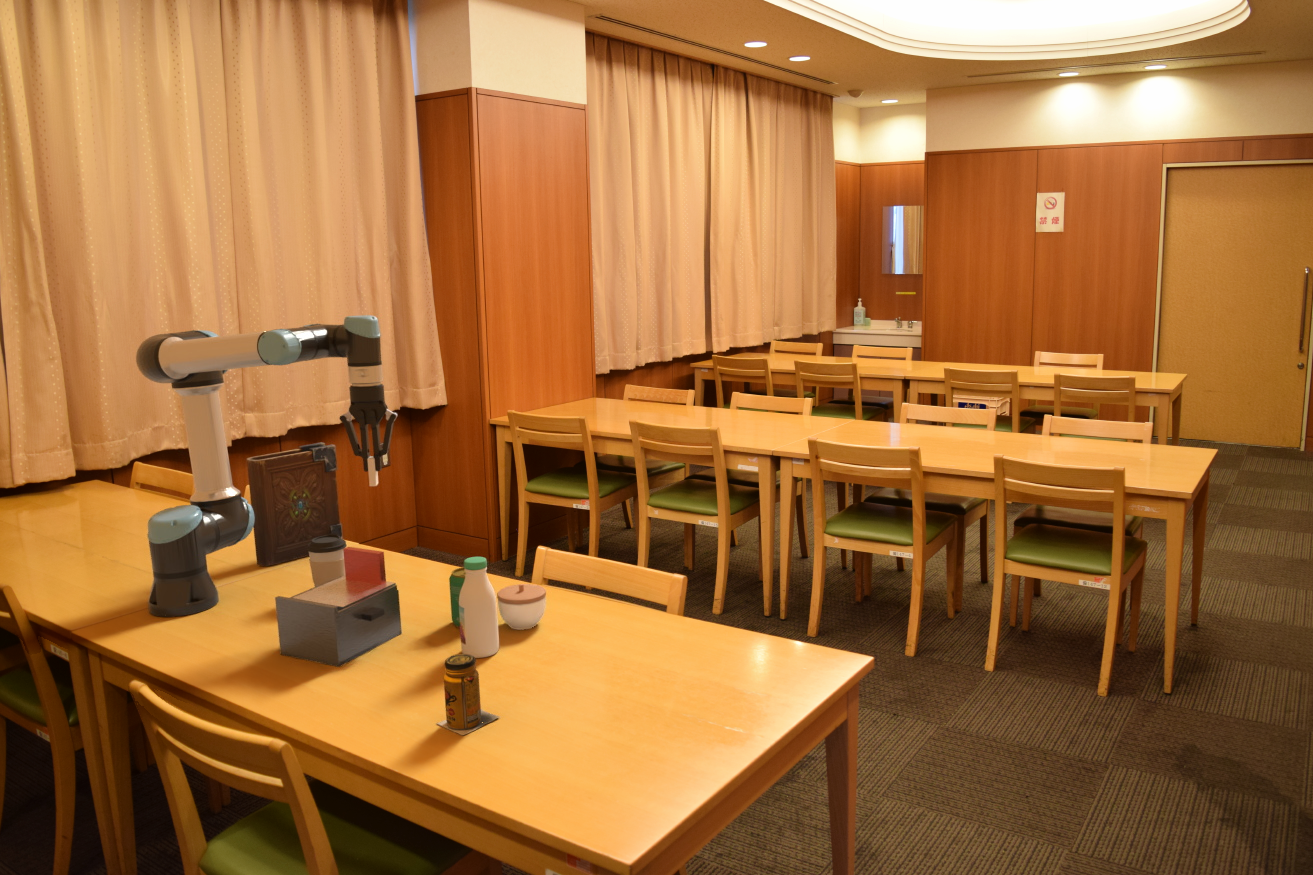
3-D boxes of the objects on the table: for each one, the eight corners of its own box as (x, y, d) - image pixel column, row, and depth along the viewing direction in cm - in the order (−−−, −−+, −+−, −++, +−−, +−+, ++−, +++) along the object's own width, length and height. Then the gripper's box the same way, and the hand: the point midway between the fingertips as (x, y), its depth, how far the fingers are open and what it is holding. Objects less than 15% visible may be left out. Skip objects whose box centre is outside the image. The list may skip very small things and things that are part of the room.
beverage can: (495, 618, 220) (492, 568, 218) (474, 631, 213) (471, 578, 211) (466, 614, 223) (463, 564, 221) (444, 626, 216) (441, 574, 214)
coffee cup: (338, 603, 232) (333, 543, 229) (304, 601, 234) (298, 541, 231) (357, 591, 240) (352, 532, 238) (324, 589, 242) (319, 531, 240)
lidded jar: (538, 635, 210) (536, 593, 208) (491, 632, 212) (489, 591, 210) (553, 617, 220) (551, 577, 218) (508, 614, 222) (506, 575, 220)
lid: (346, 579, 217) (343, 544, 216) (395, 587, 211) (393, 551, 210) (292, 602, 203) (288, 565, 202) (343, 611, 197) (339, 573, 196)
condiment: (436, 724, 170) (431, 660, 168) (474, 706, 177) (470, 644, 175) (462, 736, 166) (458, 670, 164) (500, 718, 172) (497, 654, 170)
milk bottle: (505, 646, 204) (501, 555, 200) (487, 660, 197) (482, 566, 193) (473, 642, 206) (468, 552, 203) (454, 656, 199) (448, 563, 196)
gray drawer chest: (337, 621, 220) (333, 568, 218) (410, 635, 211) (406, 580, 209) (272, 652, 203) (266, 595, 201) (348, 668, 194) (343, 609, 192)
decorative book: (330, 543, 282) (321, 442, 276) (343, 548, 277) (335, 445, 272) (252, 563, 264) (241, 456, 259) (266, 568, 260) (255, 459, 254)
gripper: (333, 386, 216) (341, 489, 221) (392, 385, 217) (399, 487, 222) (341, 382, 224) (349, 482, 228) (398, 381, 225) (405, 480, 229)
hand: (374, 484), depth 225 cm, fingers closed
